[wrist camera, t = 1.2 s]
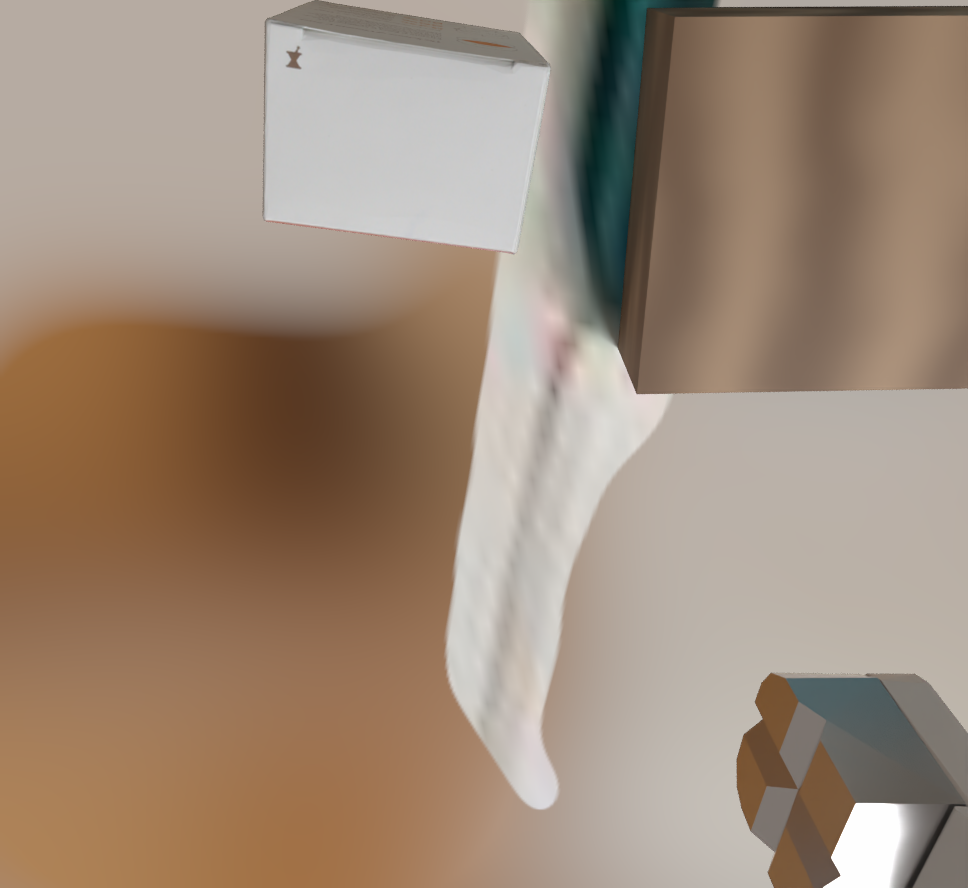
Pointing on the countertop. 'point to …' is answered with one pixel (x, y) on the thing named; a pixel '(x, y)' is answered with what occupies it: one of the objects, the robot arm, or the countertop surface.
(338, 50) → the small box
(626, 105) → the countertop surface
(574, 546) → the countertop surface
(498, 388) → the countertop surface
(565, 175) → the countertop surface
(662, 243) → the walnut block
